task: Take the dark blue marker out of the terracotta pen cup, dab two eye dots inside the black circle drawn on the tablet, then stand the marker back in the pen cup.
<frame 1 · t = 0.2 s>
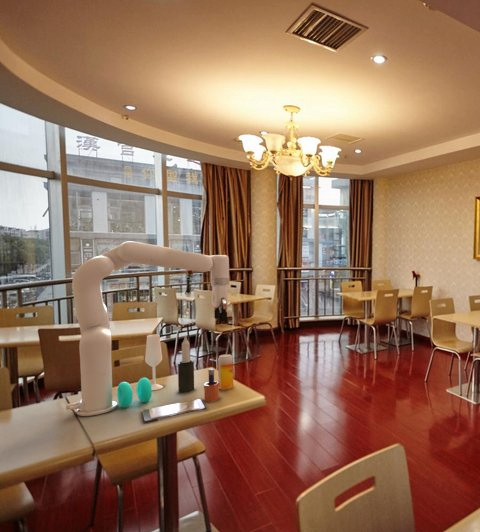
hand: (220, 319, 177), 31 cm above the table, tool pointing down, fingers open, 9 cm apart
pair of turquoise ovals: (134, 404, 157), on the table
champagne flute: (154, 388, 176), on the table
tablet: (174, 411, 151), on the table
beer glass: (225, 389, 176), on the table
pen cup: (211, 399, 162), on the table
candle: (186, 392, 172), on the table
marker: (211, 398, 162), resting on pen cup
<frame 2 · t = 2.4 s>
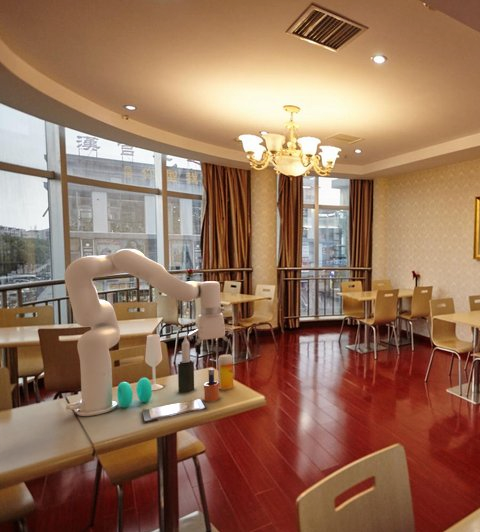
hand: (211, 352, 162), 20 cm above the table, tool pointing down, fingers open, 9 cm apart
nothing on the table moved.
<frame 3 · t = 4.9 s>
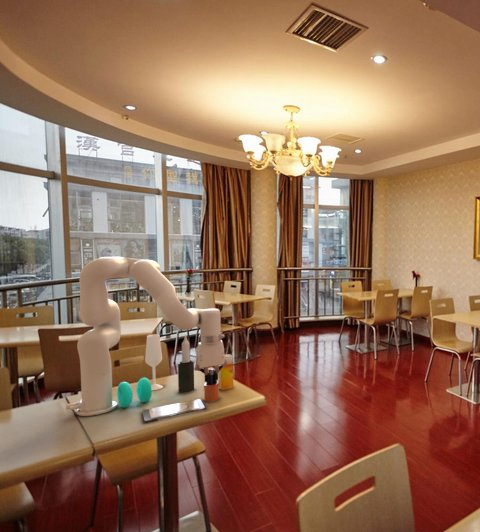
hand: (211, 382, 162), 7 cm above the table, tool pointing down, fingers closed on marker, 2 cm apart
marker: (211, 398, 162), point 1 cm above the table, touching gripper
everything else where it was.
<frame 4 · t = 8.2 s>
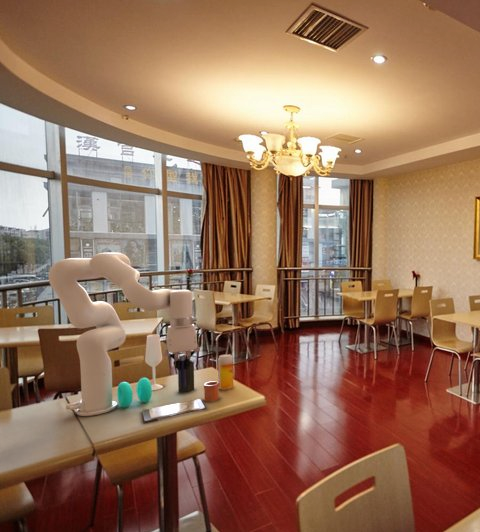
hand: (182, 368, 151), 16 cm above the table, tool pointing down, fingers closed on marker
marker: (182, 386, 151), point 9 cm above the table, touching gripper
everything else where it was.
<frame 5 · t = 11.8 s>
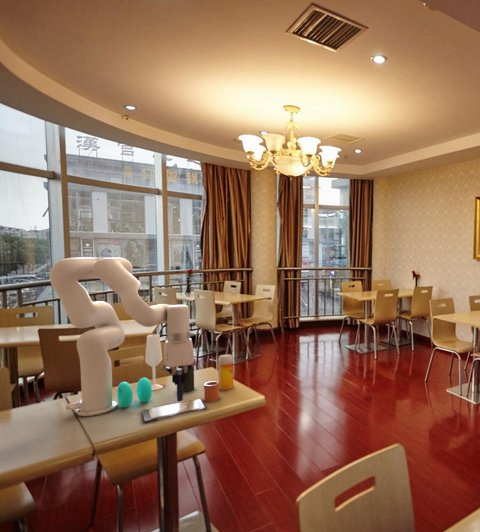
hand: (179, 382, 153), 10 cm above the table, tool pointing down, fingers closed on marker
marker: (180, 400, 153), point 3 cm above the table, touching gripper
everything else where it was.
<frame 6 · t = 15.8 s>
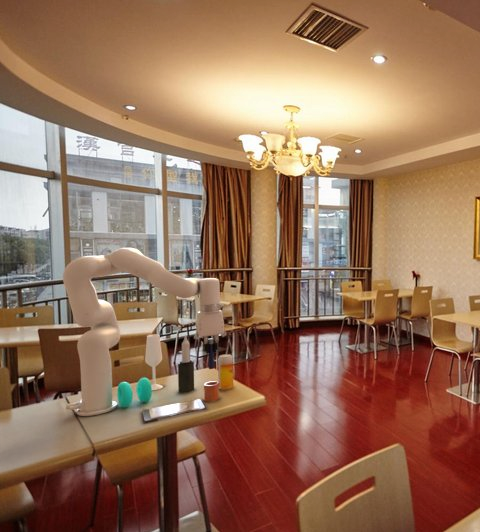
hand: (211, 351, 161), 20 cm above the table, tool pointing down, fingers closed on marker
marker: (211, 368, 162), point 13 cm above the table, touching gripper
everything else where it was.
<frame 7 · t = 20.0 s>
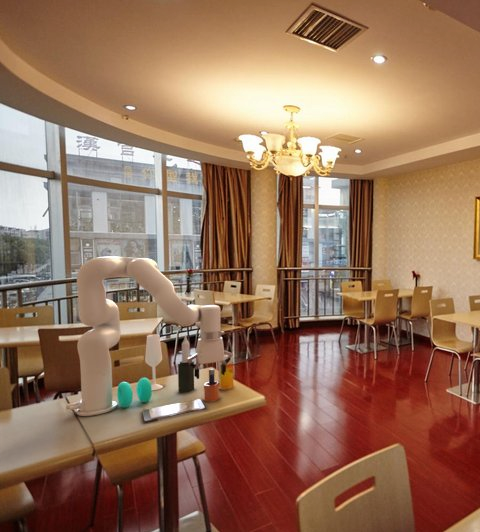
hand: (210, 376, 162), 10 cm above the table, tool pointing down, fingers open, 9 cm apart
marker: (212, 398, 162), resting on pen cup
everything else where it was.
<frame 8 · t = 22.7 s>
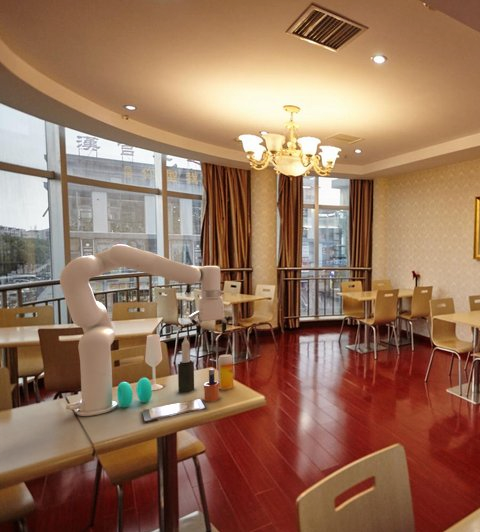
hand: (211, 333, 170), 26 cm above the table, tool pointing down, fingers open, 9 cm apart
nothing on the table moved.
at the end: marker 0.1 cm off-centre in the pen cup, point 0.5 cm above the pen cup's base; marker tilted 0°; the gripper is holding nothing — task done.
